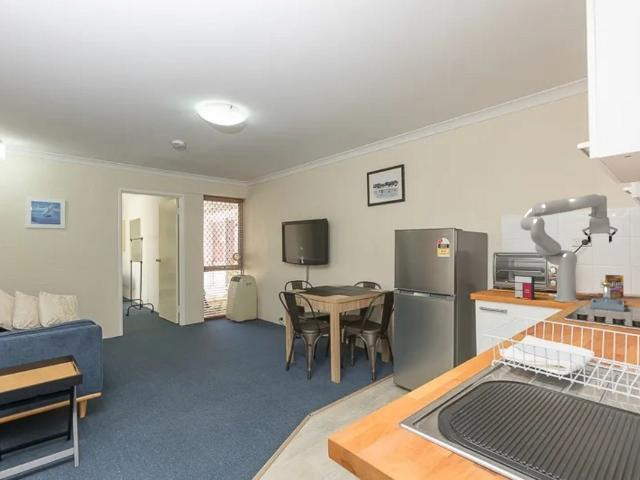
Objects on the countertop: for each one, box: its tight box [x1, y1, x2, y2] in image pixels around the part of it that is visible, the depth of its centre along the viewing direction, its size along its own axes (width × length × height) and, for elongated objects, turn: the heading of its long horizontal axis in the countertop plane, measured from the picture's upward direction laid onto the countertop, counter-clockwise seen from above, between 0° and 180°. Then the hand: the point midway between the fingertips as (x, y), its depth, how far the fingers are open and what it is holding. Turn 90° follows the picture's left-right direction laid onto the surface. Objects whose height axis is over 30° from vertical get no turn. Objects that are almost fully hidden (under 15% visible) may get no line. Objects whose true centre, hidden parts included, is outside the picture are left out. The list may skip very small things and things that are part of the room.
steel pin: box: [600, 282, 612, 304], centre depth 193 cm, size 5×5×13 cm
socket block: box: [597, 292, 621, 300], centre depth 208 cm, size 10×10×5 cm
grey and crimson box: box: [513, 274, 536, 300], centre depth 226 cm, size 11×4×15 cm, turn 37°
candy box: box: [604, 274, 625, 299], centre depth 224 cm, size 9×4×15 cm, turn 56°
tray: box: [589, 298, 625, 313], centre depth 193 cm, size 14×18×4 cm
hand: (599, 242), depth 215 cm, fingers open, 9 cm apart
